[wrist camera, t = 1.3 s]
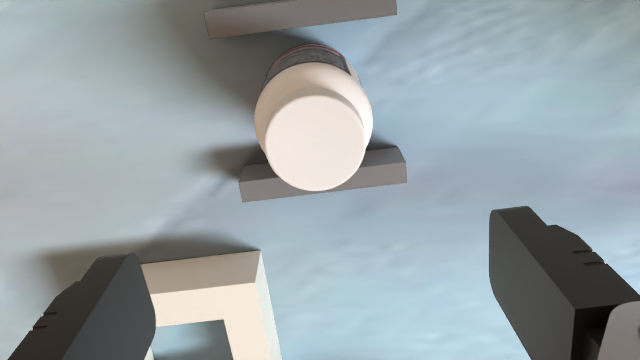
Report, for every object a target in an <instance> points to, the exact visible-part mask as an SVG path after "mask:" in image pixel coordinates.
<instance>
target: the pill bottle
mask: <svg viewBox="0 0 640 360" xmlns="http://www.w3.org/2000/svg"><path fill="white" fill-rule="evenodd" d="M254 124H255V132H256V136H257V139H258V142H259V144H260V146H261V148H262V150H263V151H264V153H265V154H266V157H267V159H268V162H269V164H270V166H271V168H272V169H273V171H274V172H275V173H276V174H277V175H278V176H279V177H280V178H281V179H282V180H283V181H285V182H286V183H288V184H290V185H292V186H294V187H296V188H299V189H302V190H308V191H323V190H328V189H331V188H334V187H336V186H338V185H340V184H342V183H344V182H345V181H347V180H348V179H349V178H350V177H351V176H352V175H353V174H354V173H355V172H356V171H357V169H358V168H359V166H360V164H361V162H362V160H363V157H364V154H365V149H366V147H367V145H368V143H369V140H370V137H371V133H372V127H373V116H372V110H371V106H370V102H369V100H368V98H367V96H366V93H365V92H364V90H363V88H362V85H361V83H360V80H359V78H358V76H357V74H356V72H355V70H354V68H353V66H352V65H351V64H350V62H349V61H348V60H347V59H346V58H345V57H344V56H343V55H342V54H340V53H339V52H337V51H336V50H334V49H332V48H329V47H326V46H323V45H317V44H308V45H302V46H298V47H295V48H293V49H291V50H289V51H287V52H285V53H284V54H283V55H281V56H280V57H279V58H278V59H277V60H276V61H275V63H274V64H273V65H272V67H271V68H270V70H269V72H268V74H267V77H266V79H265V82H264V85H263V88H262V90H261V93H260V96H259V98H258V101H257V105H256V108H255V117H254Z"/></svg>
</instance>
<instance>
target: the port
mask: <svg viewBox="0 0 640 360" xmlns="http://www.w3.org/2000/svg"><path fill="white" fill-rule="evenodd" d="M141 267H142V271H143V274H144V277H145V280H146V284H147V287H148V290H149V293H150V296H151V300H152V303H153V306H154V310H155V315H156V327H159V326H168V325H176V324H185V323H194V322H203V321H212V320H221V319H224V323H225V327H226V331H227V335H228V339H229V343H230V347H231V351H232V355H233V360H282V356H281V351H280V346H279V341H278V336H277V330H276V325H275V320H274V315H273V310H272V305H271V300H270V295H269V290H268V285H267V279H266V274H265V269H264V264H263V259H262V254H261V250H259V251H250V252H242V253H233V254H225V255H216V256H208V257H199V258H190V259H182V260H173V261H165V262H156V263H148V264H141ZM144 360H155V359H154V356H153V353H152V350H151V347H149V350H148V352H147V354H146V357H145V359H144Z"/></svg>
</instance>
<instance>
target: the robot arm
mask: <svg viewBox="0 0 640 360" xmlns="http://www.w3.org/2000/svg"><path fill="white" fill-rule="evenodd" d="M489 277H490V283H491V287H492V290H493V293H494V296H495V298H496V300H497V301H498V303H499V305H500V307H501V308H502V310H503V312H504V313H505V315H506V317H507V319H508V320H509V322H510V324H511V326H512V327H513V329H514V331H515V332H516V334H517V336H518V338H519V339H520V341H521V343H522V344H523V346H524V348H525V350H526V351H527V353H528V355H529V357H530V358H531V360H640V295H639V294H638V293H637V292H636V291H635V290H634V289H633V288H632V287H631V286H630V285H629V284H628V283H627V282H626V281H625V280H624V279H622V278H621V277H620V276H619V275H618V274H617V273H616V272H615V271H614V270H613V269H612V268H611V267H610V266H609V265H608V264H605V263H604V260H603V259H602V258H601V257H600V256H599V255H598V254H597V253H596V252H592V249H591V248H590V247H589V246H588V245H587V244H586V243H585V242H584V241H583V240H582V239H581V238H580V237H579V236H578V235H576V234H574V233H572V232H570V231H568V230H566V229H564V228H562V227H560V226H558V225H549V226H547V225H546V224H545V223H544V222H543V221H542V220H541V219H540V218H539V217H538V215H537V214H536V213H535V212H534V211H533V210H532V209H531V208H530V207H528V206H521V207H513V208H505V209H497V210H492V212H491V214H490V220H489ZM43 314H44V316H43V317H40V318H39V320H38V321H37V322H36V324H35V325H34V326H33V330H32V331H29V333H28V334H27V335H26V337H25V338H24V339H23V340H22V342H21V343H20V344H19V346H18V347H17V348H16V349H15V351H14V352H13V353H12V355H11V356H10V357H9V358H8V360H144V359H145V357H146V354H147V352H148V350H149V347H150V345H151V343H152V340H153V338H154V334H155V329H156V315H155V310H154V306H153V303H152V300H151V296H150V293H149V290H148V287H147V284H146V280H145V277H144V274H143V271H142V267H141V264H140V261H139V259H138V257H137V256H136V255H135V254H133V253H129V254H121V255H112V256H104V257H99V258H97V259H96V260H95V262H94V263H93V264H92V266H91V267H90V268H89V270H88V271H87V273H86V274H85V275H84V277H83V278H82V279H81V281H78V282H75V283H74V284H72V285H71V286H70V287H69V288H67V289H66V290H65V291H63V292H62V293H61V294H59V295H58V296H57V297H56V298H55V299H54V300H53V302H52V303H51V304H50V305H49V307H48V308H47V309H46V311H45V312H44V313H43Z"/></svg>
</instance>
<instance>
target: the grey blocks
mask: <svg viewBox="0 0 640 360" xmlns="http://www.w3.org/2000/svg"><path fill="white" fill-rule="evenodd" d="M391 15H397V5H396V0H280V1H272V2H265V3H257V4H249V5H242V6H234V7H227V8H219V9H213V10H210V11H208V12H205V13H204V16H205V21H206V26H207V31H208V35H209V39H215V38H222V37H230V36H238V35H245V34H253V33H261V32H268V31H276V30H284V29H291V28H299V27H307V26H314V25H322V24H330V23H337V22H345V21H353V20H360V19H368V18H376V17H383V16H391ZM238 183H239V187H240V192H241V197H242V202H250V201H259V200H267V199H275V198H284V197H292V196H300V195H309V194H317V193H325V192H333V191H342V190H350V189H358V188H367V187H375V186H383V185H392V184H400V183H407V174H406V161H405V160H404V158H403V156H402V154H401V152H400V150H399V148H398V147H392V148H384V149H375V150H367V151H365V154H364V157H363V160H362V162H361V164H360V166H359V168H358V169H357V171H356V172H355V173H354V174H353V175H352V176H351V177H350V178H349V179H348V180H347V181H345V182H344V183H342V184H340V185H338V186H336V187H334V188H331V189H328V190H323V191H308V190H302V189H299V188H296V187H294V186H292V185H290V184H288V183H286V182H285V181H283V180H282V179H281V178H280V177H279V176H278V175H277V174H276V173H275V172H274V171H273V169H272V168H271V166H270V164H269V163H261V164H253V165H245V166H244V168H243V170H242V173H241V176H240V179H239V182H238Z"/></svg>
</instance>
